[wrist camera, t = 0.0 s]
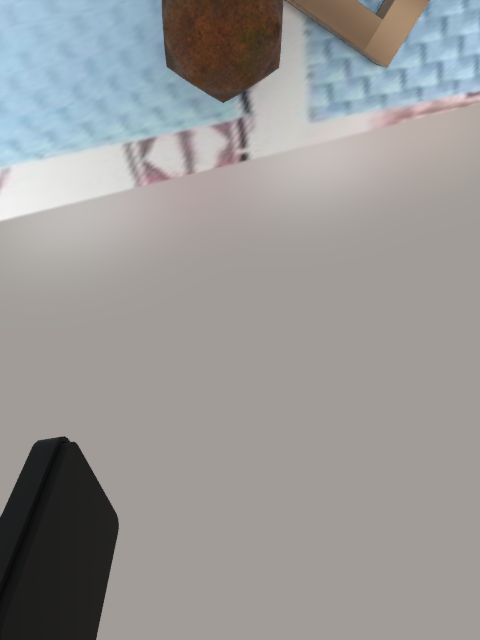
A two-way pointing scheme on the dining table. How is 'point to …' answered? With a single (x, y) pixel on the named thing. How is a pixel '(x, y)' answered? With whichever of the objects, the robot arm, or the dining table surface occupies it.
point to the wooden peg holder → (366, 24)
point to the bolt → (222, 42)
